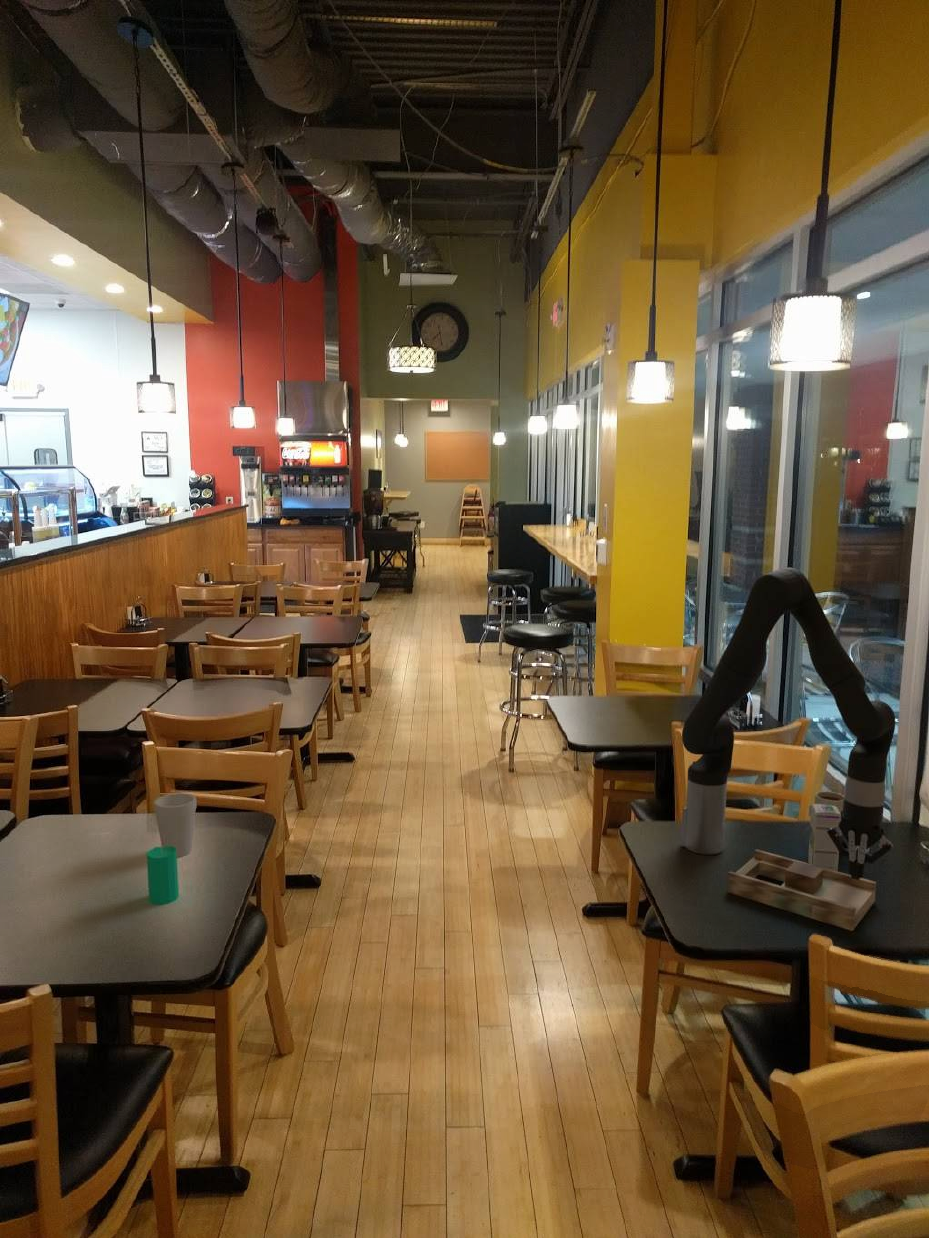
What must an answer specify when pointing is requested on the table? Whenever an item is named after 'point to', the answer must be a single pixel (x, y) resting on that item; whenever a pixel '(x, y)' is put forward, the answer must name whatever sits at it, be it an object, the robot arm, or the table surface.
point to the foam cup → (176, 821)
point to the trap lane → (830, 903)
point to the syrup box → (823, 836)
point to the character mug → (829, 800)
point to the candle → (162, 875)
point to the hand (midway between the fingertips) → (856, 877)
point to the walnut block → (804, 877)
